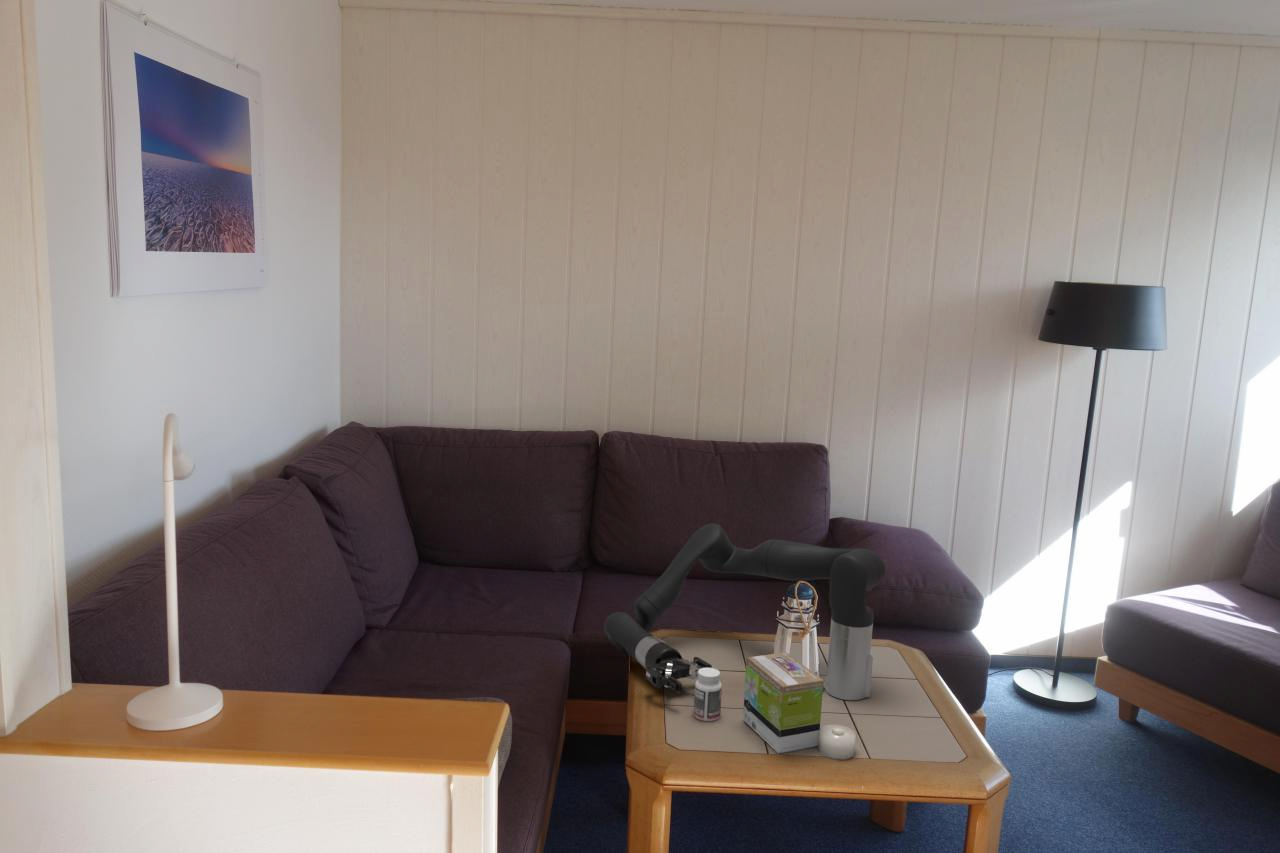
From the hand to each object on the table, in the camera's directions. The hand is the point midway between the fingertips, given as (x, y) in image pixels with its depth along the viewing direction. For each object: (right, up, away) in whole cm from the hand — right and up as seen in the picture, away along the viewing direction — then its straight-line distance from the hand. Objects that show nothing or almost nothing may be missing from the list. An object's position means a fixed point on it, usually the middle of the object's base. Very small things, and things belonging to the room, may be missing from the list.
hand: (696, 684), depth 213 cm
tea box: (+17, -8, -9) cm, 20 cm away
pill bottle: (+2, -6, -2) cm, 7 cm away
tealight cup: (+27, -9, -15) cm, 32 cm away
